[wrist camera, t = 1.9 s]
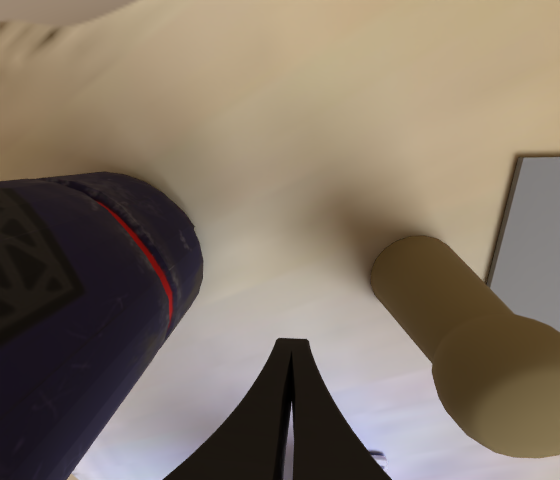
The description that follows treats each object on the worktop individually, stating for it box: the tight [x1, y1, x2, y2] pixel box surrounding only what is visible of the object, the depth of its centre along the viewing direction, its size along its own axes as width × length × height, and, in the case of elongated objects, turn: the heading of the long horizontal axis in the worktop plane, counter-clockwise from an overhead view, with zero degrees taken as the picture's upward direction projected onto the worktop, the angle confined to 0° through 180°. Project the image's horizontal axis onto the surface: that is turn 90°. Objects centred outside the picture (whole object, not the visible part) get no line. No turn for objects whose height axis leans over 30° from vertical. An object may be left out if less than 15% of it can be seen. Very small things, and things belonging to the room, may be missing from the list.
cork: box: [371, 236, 560, 458], centre depth 14 cm, size 6×6×11 cm
